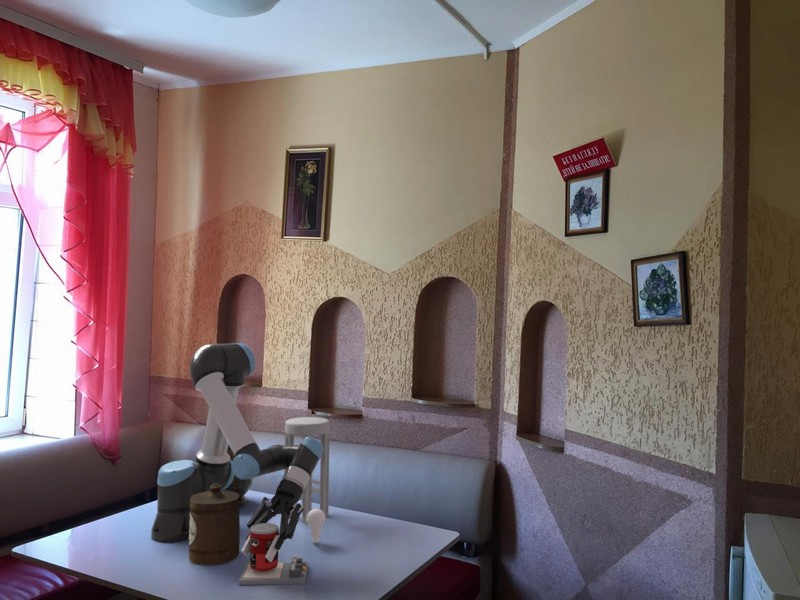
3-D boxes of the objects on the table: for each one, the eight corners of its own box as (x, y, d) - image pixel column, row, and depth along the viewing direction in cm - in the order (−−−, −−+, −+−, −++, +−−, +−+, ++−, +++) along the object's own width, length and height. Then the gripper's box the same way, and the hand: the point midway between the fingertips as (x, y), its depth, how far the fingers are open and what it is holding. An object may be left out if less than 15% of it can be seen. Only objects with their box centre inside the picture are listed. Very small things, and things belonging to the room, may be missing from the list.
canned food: (251, 561, 189) (252, 523, 190) (279, 560, 190) (280, 522, 190) (247, 572, 182) (248, 532, 182) (276, 571, 182) (277, 531, 183)
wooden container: (198, 547, 207) (199, 477, 208) (245, 548, 207) (246, 478, 207) (181, 565, 193) (182, 490, 193) (231, 566, 192) (232, 491, 192)
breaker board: (238, 584, 179) (238, 569, 180) (246, 567, 191) (246, 552, 192) (304, 583, 181) (305, 568, 181) (308, 566, 193) (308, 552, 193)
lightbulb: (321, 547, 208) (322, 512, 208) (303, 545, 209) (303, 511, 209) (327, 540, 214) (328, 507, 214) (309, 539, 215) (310, 505, 215)
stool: (305, 507, 249) (307, 415, 250) (336, 515, 240) (337, 419, 240) (275, 518, 237) (277, 420, 237) (306, 526, 227) (308, 425, 228)
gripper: (326, 496, 195) (291, 570, 180) (270, 487, 205) (234, 555, 190) (315, 483, 190) (279, 557, 176) (260, 473, 200) (221, 543, 186)
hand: (256, 556), depth 183 cm, fingers closed on canned food, 8 cm apart
